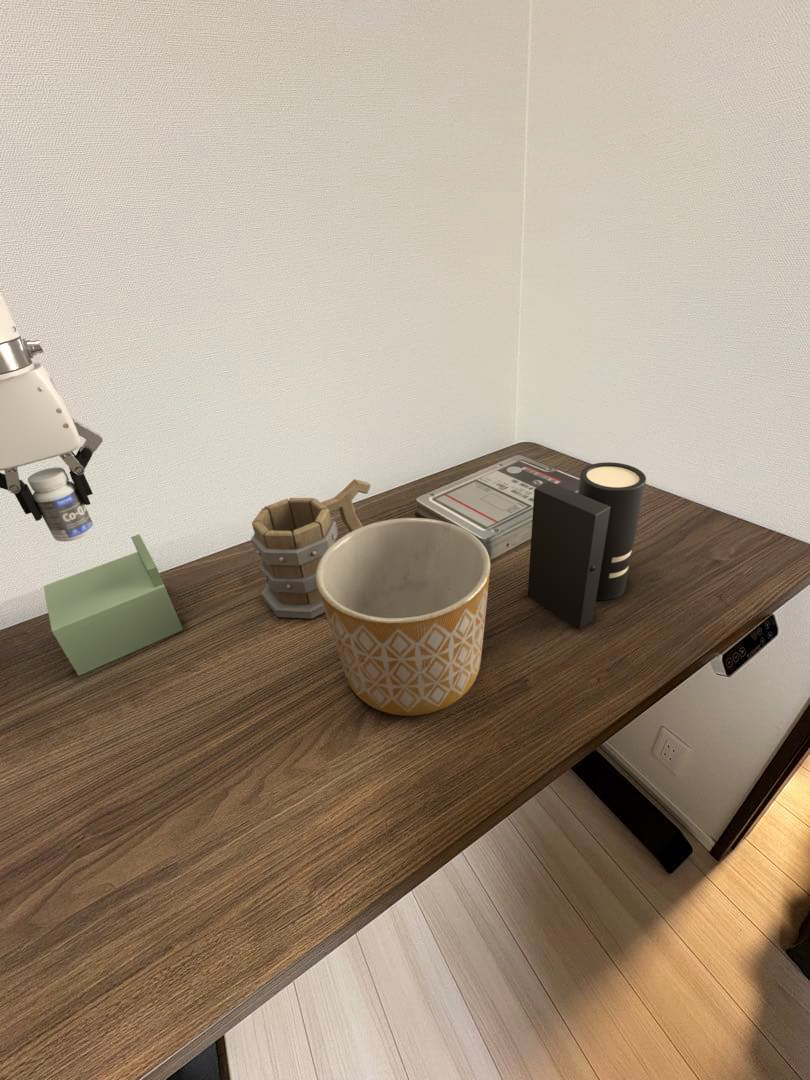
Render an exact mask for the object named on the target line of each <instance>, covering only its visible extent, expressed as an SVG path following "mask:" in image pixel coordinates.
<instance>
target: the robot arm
mask: <svg viewBox="0 0 810 1080" xmlns="http://www.w3.org/2000/svg"><path fill="white" fill-rule="evenodd" d="M41 353H44V350H43V348H42V345H41V342H40V341H39V339H36V340H30V339H29V340H27V339H26V338H22V335H21V334H20V332H19V329H18V328H17V325H16V323H15V321H14V318H13V316H12V314H11V312H10V309H9V308H8V306H7V304H6V301H5V298H4V297H3V294H2V292H1V291H0V489H2V490H6V491H8V492H9V493H10V494H14V496H15V498H16V499H17V501H18V503H19V505H20V507H21V509H22V511H23V512H24V514H25V515H29V514H32V517H33V519H34V521H36V522H38V521H41V520H42V519H43V517H42V515H41V513H40V511H39V509H38V507H37V505H36V503H35V501H34V499H33V493H32V490H31V489H30V487H29V485H28V483H25V482H24V481H23V480H22V479H20V475H19V470H18V468H19V467H23V466H27V465H30V464H34V463H37V462H42V461H45V460H49V459H52V458H56V457H59V458H61V460H62V461H63V462H64V463H65V465H67V467H68V469H69V475H70V478H71V480H72V483H74V485H75V487H76V489H77V491H78V493H79V495H80V497H81V499H82V501H83V504H84V505H85V506H90V505H91V501H90V499H89V496H90V495H93V494H94V493H93V491H92V488H91V486H90V484H89V482H88V480H87V478H86V475H85V471H86V467H87V466H88V464H89V462H90V461H91V459H92V457H93V454H94V453H95V452H96V451H97V450H98V448H99V447H100V446H101V444H102V443H103V440H104V438H103V437H102V435H101V433H99V432H97V431H95V430H94V429H92V428H91V427H89V426H88V425H86V424H83V423H82V422H80V421H78V420H76V419H75V418H73V417H72V415H71V413H70V411H69V409H68V407H67V405H66V403H65V401H64V399H63V397H62V395H61V393H60V391H59V389H58V387H57V386H56V384H55V382H54V380H53V379H52V377H51V375H50V374H49V372H48V371H47V370H46V368H45V367H44V366H43V364H42V363H41V362H33V361H32V359H35V357H34V356H37V354H41ZM81 438H83V439H85V441H84V443H83V444H82V441H81ZM81 444H82V445H81ZM77 449H78V450H77ZM76 450H77V452H76V453H75V452H74V451H76ZM1 471H4V473H2V472H1Z"/></svg>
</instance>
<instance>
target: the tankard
mask: <svg viewBox="0 0 810 1080" xmlns="http://www.w3.org/2000/svg"><path fill="white" fill-rule="evenodd" d="M371 485H372V484H371V483H370V482H368V481H365V480H360V479H356V478H354V479H352V481H351V482H350V483H348V484H347V486H346V487H345V488H343V489H342V490H341V491H339V492H338V493H337V495H336V496H334V497H331V498H329V499H326V500H324V501H320V500H318V499H317V498H315V497H289V499H288V498H285V499H281V500H279V501H277V502H273V503H270V504H268V505H266V506H264V507H262V508H261V510H260V511H259V513H258V514H257V515H256V516H255V518H254V519H253V521H252V522H251V527H252V529H253V532H254V534H253V535H252V537H251V538H250V540H251V543H252V546H253V550H254V552H255V553H256V554H257V555H258V556H259V557H260V558H261V563H260V564H259V566H258V567H259V571H260V574H261V577H262V579H263V580H264V581H265V582H266V585H265V587H264V589H263V590H262V591H261V596H262V599H263V601H264V602H265V604H267V606H268V607H269V608H270V609H271V610H272V612H273V613H274V614H275V615H276V617H277V618H288V619H289V618H293V619H309V620H310V619H311V620H312V619H314V618H316V617H318V616H320V615H322V614H325V613H326V612H325V609H324V606H323V603H322V599H321V596H320V593H319V590H318V587H317V583H316V570H317V566H318V564H319V561H320V559H321V558H322V556H323V554H324V553H325V552H326V551H327V550H328V548H329V547H330V546H331V545H333V544H334V543H335V542H336V541H337V538H338V535H339V532H338V525H337V522H336V521H335V520H333V518H331V513H332V512H334V511H336V510H338V511H339V515H340V519H341V520H342V522H343V524H344V525H345V526H346V528H347V529H348V531H349V533H350V532H352V531H354V530H356V529H359V528H361V527H364V526H363V524H362V523H361V521H360V519H359V518H358V516H357V514H356V511H355V507H354V504H353V499H355V497H356V496H357V495H358V494H359V493H360V494H365V495H367V494H368V493H369V491H370V488H371Z"/></svg>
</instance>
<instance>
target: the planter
mask: <svg viewBox="0 0 810 1080" xmlns="http://www.w3.org/2000/svg"><path fill="white" fill-rule="evenodd" d="M490 573H491V560H490V558H489V555H488V552H487V550H486V548H485V547H484V545H483V544H482V543H481V542H480V541H479V540H478V539H477V538H476V537H475V536H474V535H472V534H471V533H470V532H468V531H466V530H464V529H463V528H460V527H458V526H456V525H453V524H450V523H447V522H443V521H439V520H433V519H425V518H415V517H401V518H400V517H399V518H392V519H386V520H381V521H376V522H373V523H370V524H367V525H364V526H363V527H361V528H359V529H356V530H354V531H352V532H350V531H349V532H348V533H346V534H345V535H343V536H341V537H340V538H339V539H336V540H335V543H334V544H333V545H331V546H330V547H329V548H328V550H327V551H326V552H325V553H324V554H323V556H322V558H321V559H320V561H319V564H318V566H317V570H316V583H317V587H318V590H319V593H320V596H321V599H322V603H323V606H324V609H325V612H324V613H325V615H326V619H327V621H328V625H329V628H330V632H331V634H332V638H333V641H334V645H335V647H336V651H337V654H338V657H339V660H340V664H341V666H342V670H343V673H344V676H345V679H346V682H347V684H348V685H349V687H350V689H351V690H352V692H353V693H354V694H355V695H356V696H357V697H358V699H360V700H361V701H363V703H365V704H366V705H368V706H370V707H371V708H373V709H375V710H378V711H380V712H383V713H386V714H390V715H396V716H401V717H402V716H403V717H404V716H405V717H413V716H415V717H416V716H423V715H424V716H425V715H427V714H428V715H429V714H432V713H436V712H438V711H441V710H443V709H446V708H447V707H449V706H451V705H453V704H454V703H456V702H458V701H459V700H460V699H461V698H462V697H464V696H465V695H466V694H467V692H468V691H469V690H470V689H471V688H472V686H473V685H474V683H475V681H476V679H477V677H478V675H479V671H480V669H481V663H482V652H483V642H484V634H485V624H486V613H487V604H488V593H489V584H490V583H489V582H490V576H491V575H490Z"/></svg>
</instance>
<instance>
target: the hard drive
mask: <svg viewBox="0 0 810 1080" xmlns="http://www.w3.org/2000/svg"><path fill="white" fill-rule="evenodd" d="M579 481H580V476H577V475H574V474H571V473H570V472H567V471H564V470H562V469H559V468H556V467H554V466H551V465H548V464H546V463H544V462H541V461H539V460H536V459H534V458H531V457H528V456H526V455H523V454H517V455H516V454H515V455H513V456H511V457H509V458H506V459H503V460H502V461H499V462H497V463H495V464H492V465H490V466H488V467H486V468H483V469H481V470H478V471H476V472H473V473H471V474H469V475H466V476H464V477H462V478H460V479H458V480H455V481H453V482H451V483H448V484H446V485H443V486H441V487H438V488H437V489H434V490H432V491H429V492H427V493H425V494H422V495H420V496H418V497H417V498H416V499H415V501H416V511H415V512H414V518H425V519H433V520H439V521H443V522H447V523H450V524H453V525H456V526H458V527H460V528H463V529H464V530H466V531H468V532H470V533H471V534H472V535H474V536H475V537H476V538H477V539H478V540H479V541H480V542H481V543H482V544H483V545H484V547H485V548H486V550H487V552H488V555H489V558H490V561H492V560H494V559H495V558H498V557H500V556H501V555H503V554H505V553H507V552H508V551H510V550H512V549H514V548H516V547H518V546H520V545H521V544H522V543H525V542H527V541H529V540H531V534H532V518H533V503H534V489H535V488H537V487H539V486H541V485H543V484H545V483H547V482H552V483H554V484H557V485H559V486H562V487H564V488H566V489H569V490H571V491H574V492H576V493H578V490H579Z"/></svg>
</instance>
